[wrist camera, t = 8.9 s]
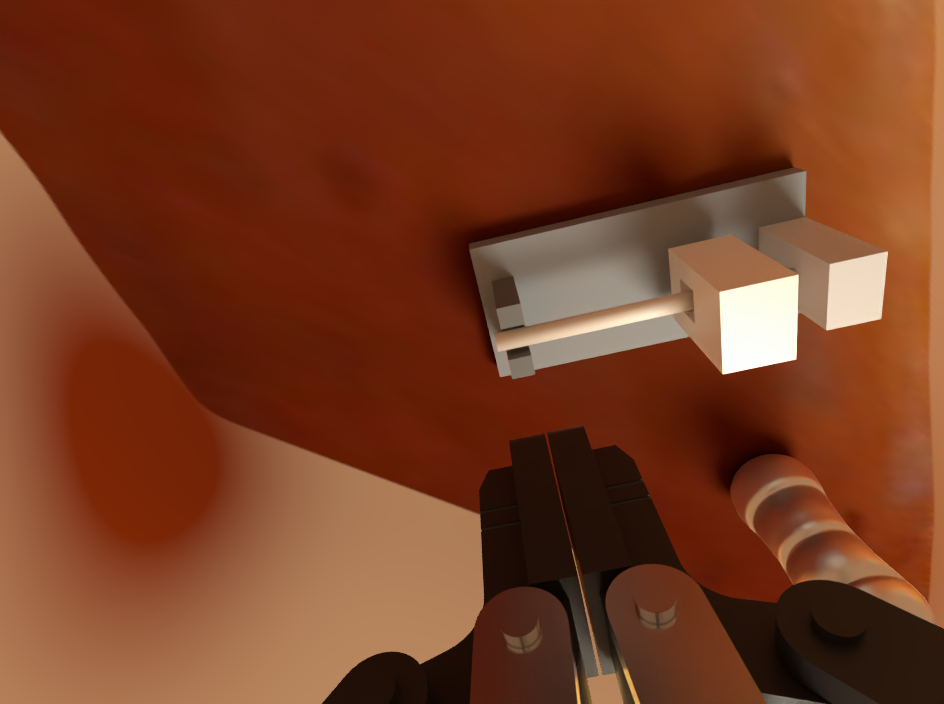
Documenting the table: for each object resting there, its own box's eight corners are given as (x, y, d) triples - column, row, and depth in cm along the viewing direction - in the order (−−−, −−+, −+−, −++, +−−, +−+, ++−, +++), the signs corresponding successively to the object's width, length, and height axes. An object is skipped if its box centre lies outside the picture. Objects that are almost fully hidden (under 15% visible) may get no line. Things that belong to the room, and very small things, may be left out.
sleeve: (667, 248, 36) (719, 292, 29) (730, 234, 36) (798, 274, 29) (673, 318, 38) (722, 374, 31) (732, 305, 38) (796, 359, 31)
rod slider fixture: (468, 243, 39) (471, 291, 30) (793, 167, 37) (893, 195, 28) (498, 367, 43) (508, 439, 35) (790, 304, 41) (876, 364, 33)
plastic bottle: (705, 479, 48) (849, 717, 31) (770, 429, 46) (966, 653, 28) (751, 515, 50) (911, 759, 33) (815, 469, 48) (1025, 703, 30)
